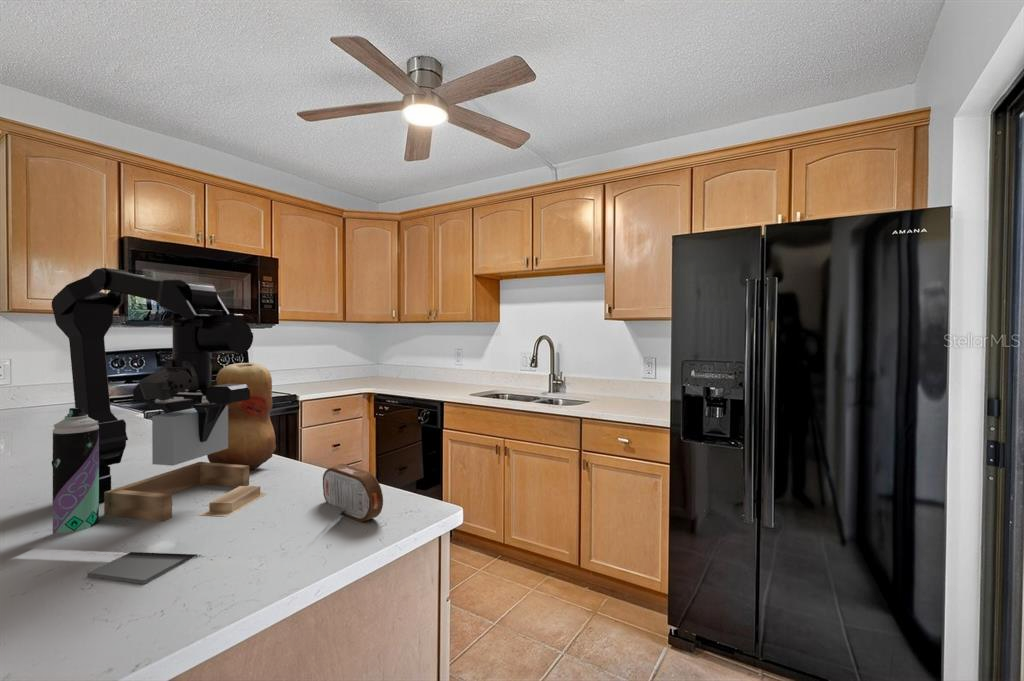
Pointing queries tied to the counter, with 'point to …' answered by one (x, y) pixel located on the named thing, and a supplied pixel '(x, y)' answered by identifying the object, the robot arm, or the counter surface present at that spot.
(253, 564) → the counter surface
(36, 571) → the counter surface
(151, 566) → the mat
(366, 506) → the tin
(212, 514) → the offcut lower
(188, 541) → the counter surface
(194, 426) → the gray rectangular block
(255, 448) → the butternut squash
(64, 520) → the spray can
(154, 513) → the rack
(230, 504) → the offcut upper
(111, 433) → the robot arm
